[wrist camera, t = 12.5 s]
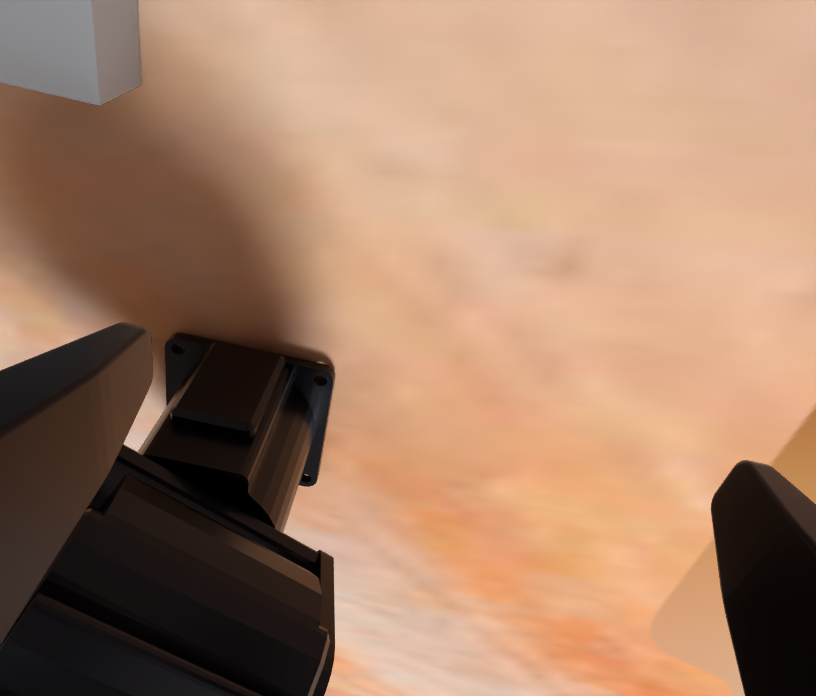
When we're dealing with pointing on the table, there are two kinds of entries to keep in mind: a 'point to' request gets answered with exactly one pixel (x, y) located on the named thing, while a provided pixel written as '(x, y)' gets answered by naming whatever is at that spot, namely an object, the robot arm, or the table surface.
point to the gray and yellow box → (71, 47)
